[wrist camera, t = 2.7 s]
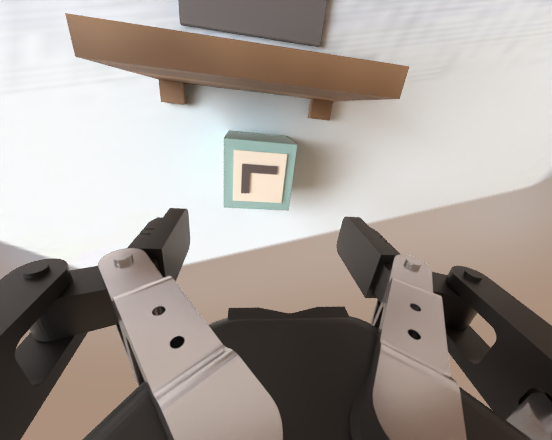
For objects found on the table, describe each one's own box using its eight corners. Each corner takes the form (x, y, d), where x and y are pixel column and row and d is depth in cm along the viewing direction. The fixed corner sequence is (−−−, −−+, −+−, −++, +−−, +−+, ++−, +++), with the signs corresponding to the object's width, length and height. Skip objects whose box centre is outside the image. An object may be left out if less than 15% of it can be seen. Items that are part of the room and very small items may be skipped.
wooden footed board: (158, 36, 19) (51, -45, 9) (336, 62, 22) (422, 23, 11) (164, 101, 22) (85, 100, 11) (326, 119, 24) (389, 132, 13)
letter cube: (228, 130, 24) (223, 138, 18) (286, 135, 24) (298, 145, 19) (228, 186, 26) (223, 208, 21) (280, 189, 27) (289, 211, 21)
